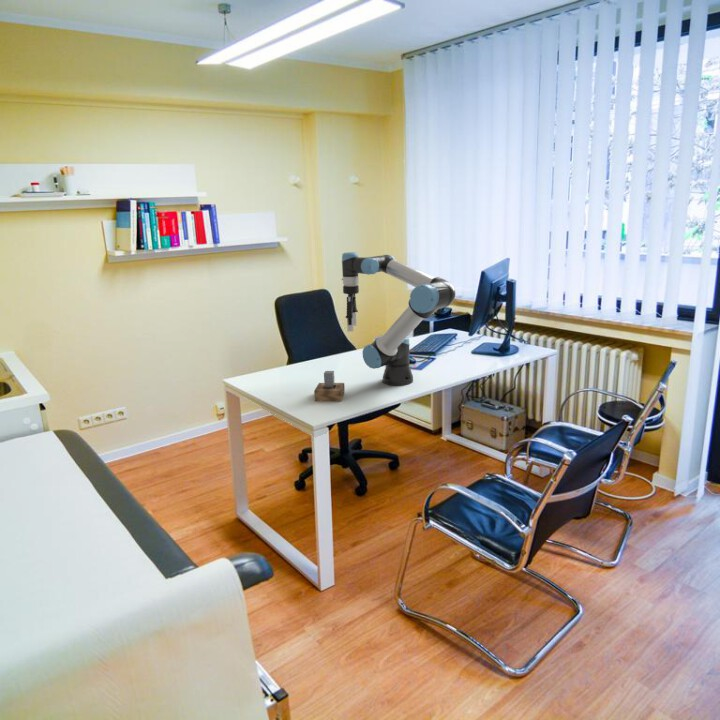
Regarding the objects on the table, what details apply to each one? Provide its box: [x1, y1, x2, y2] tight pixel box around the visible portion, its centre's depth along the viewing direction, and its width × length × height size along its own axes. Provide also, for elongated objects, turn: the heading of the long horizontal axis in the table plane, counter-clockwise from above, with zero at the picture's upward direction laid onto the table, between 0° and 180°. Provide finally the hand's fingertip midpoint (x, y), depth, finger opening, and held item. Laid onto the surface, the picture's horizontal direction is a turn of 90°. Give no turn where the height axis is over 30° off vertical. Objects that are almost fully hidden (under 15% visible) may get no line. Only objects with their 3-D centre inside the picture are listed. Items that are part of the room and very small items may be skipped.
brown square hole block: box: [313, 382, 345, 402], centre depth 269 cm, size 12×12×5 cm
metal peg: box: [323, 370, 335, 389], centre depth 268 cm, size 4×4×12 cm
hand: (352, 328), depth 287 cm, fingers open, 13 cm apart
